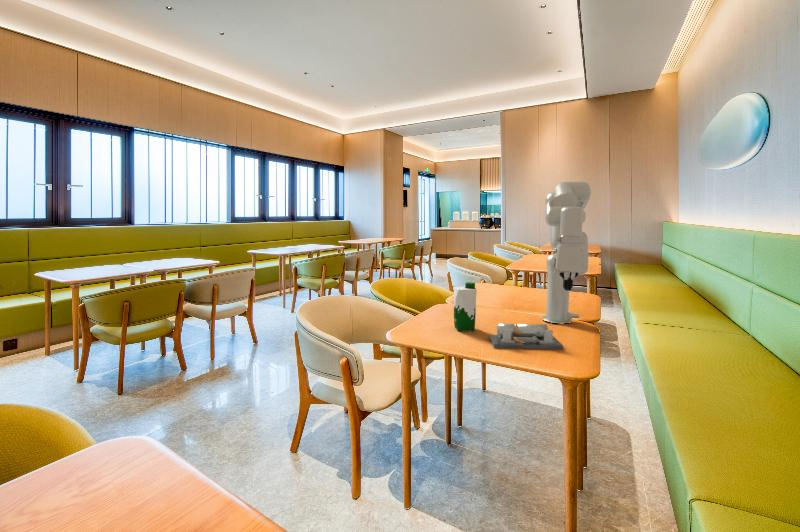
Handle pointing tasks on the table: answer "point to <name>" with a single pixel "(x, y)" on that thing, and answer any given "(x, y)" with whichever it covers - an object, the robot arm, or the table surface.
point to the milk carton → (465, 307)
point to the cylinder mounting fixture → (525, 341)
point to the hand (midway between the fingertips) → (567, 289)
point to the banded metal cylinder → (523, 330)
